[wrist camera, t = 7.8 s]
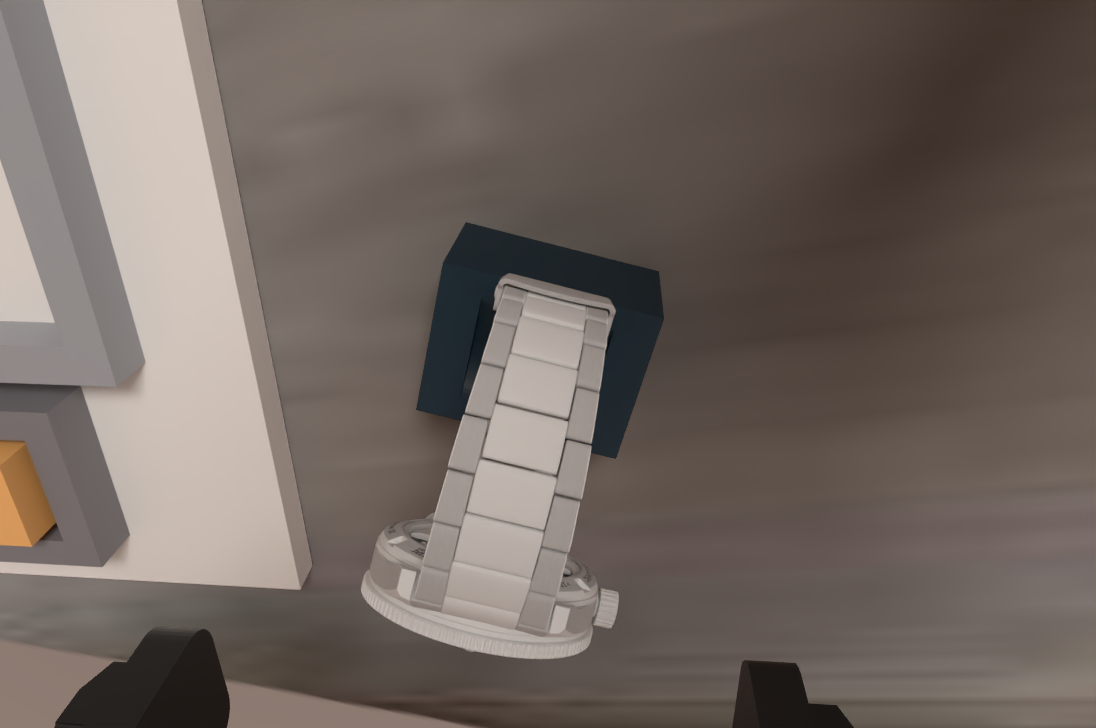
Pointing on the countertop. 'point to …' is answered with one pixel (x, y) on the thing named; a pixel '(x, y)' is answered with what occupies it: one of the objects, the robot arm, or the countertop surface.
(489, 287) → the watch
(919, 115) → the countertop surface
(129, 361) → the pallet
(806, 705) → the robot arm
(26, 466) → the button
